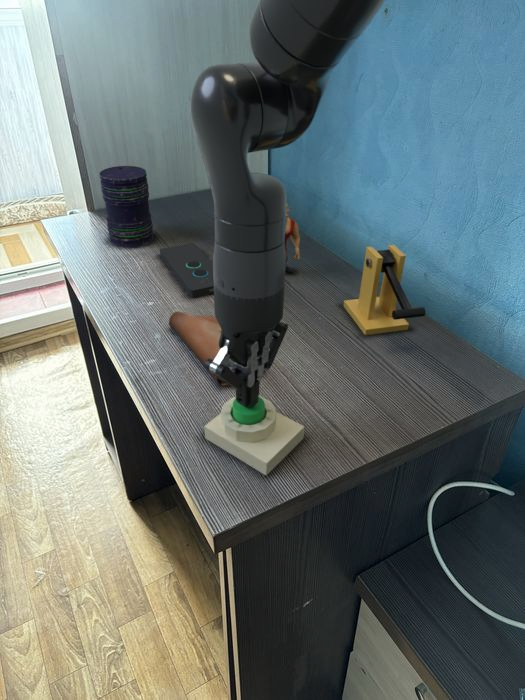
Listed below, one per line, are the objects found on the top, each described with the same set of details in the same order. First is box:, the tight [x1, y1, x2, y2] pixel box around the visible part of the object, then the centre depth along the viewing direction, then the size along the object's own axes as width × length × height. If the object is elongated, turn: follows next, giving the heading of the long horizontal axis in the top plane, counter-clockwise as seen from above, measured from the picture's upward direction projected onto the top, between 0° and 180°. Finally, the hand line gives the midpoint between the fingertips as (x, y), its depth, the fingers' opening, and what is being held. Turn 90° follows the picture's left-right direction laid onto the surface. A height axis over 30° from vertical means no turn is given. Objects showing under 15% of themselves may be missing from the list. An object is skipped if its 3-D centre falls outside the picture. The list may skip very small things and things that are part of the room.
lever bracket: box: [343, 244, 410, 336], centre depth 89 cm, size 10×8×13 cm
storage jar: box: [99, 165, 154, 249], centre depth 113 cm, size 10×10×15 cm
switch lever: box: [376, 249, 426, 320], centre depth 83 cm, size 13×5×2 cm, turn 14°
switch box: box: [204, 395, 305, 476], centre depth 66 cm, size 10×8×4 cm
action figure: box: [285, 202, 301, 274], centre depth 101 cm, size 10×4×15 cm, turn 123°
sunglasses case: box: [168, 311, 231, 387], centre depth 82 cm, size 18×7×7 cm, turn 32°
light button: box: [233, 395, 265, 425], centre depth 65 cm, size 4×4×2 cm
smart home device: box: [159, 242, 214, 298], centre depth 105 cm, size 8×2×20 cm
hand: (247, 402), depth 64 cm, fingers closed
